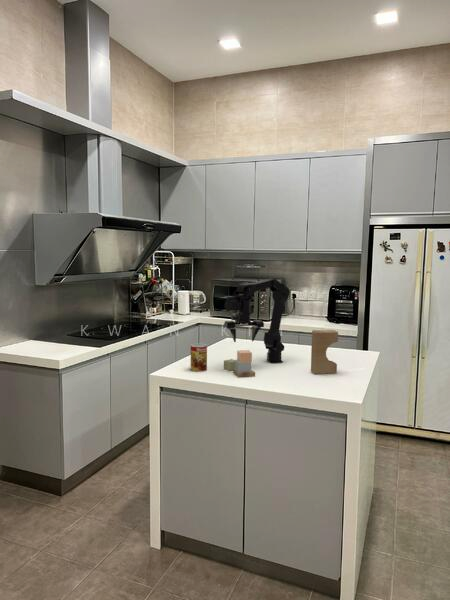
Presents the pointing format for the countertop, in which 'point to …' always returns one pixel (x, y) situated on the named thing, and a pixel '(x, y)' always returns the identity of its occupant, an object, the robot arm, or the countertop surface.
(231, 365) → the olive block
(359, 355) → the countertop surface
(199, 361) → the canned food
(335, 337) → the decorative block
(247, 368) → the grey block
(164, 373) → the countertop surface
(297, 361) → the countertop surface
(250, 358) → the terracotta block
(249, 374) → the walnut slab
